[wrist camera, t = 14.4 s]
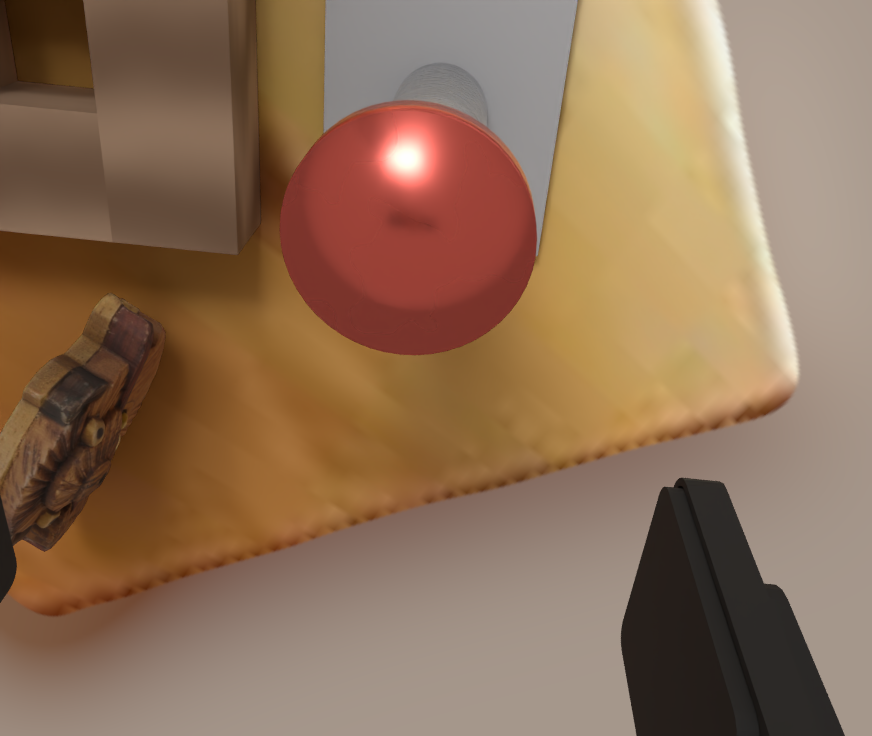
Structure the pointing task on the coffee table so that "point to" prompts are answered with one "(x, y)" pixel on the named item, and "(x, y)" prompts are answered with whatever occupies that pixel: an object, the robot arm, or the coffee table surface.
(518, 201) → the peg
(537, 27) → the mat
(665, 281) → the coffee table surface
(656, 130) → the coffee table surface
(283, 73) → the coffee table surface
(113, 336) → the wooden carving
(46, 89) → the eye block
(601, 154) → the coffee table surface
